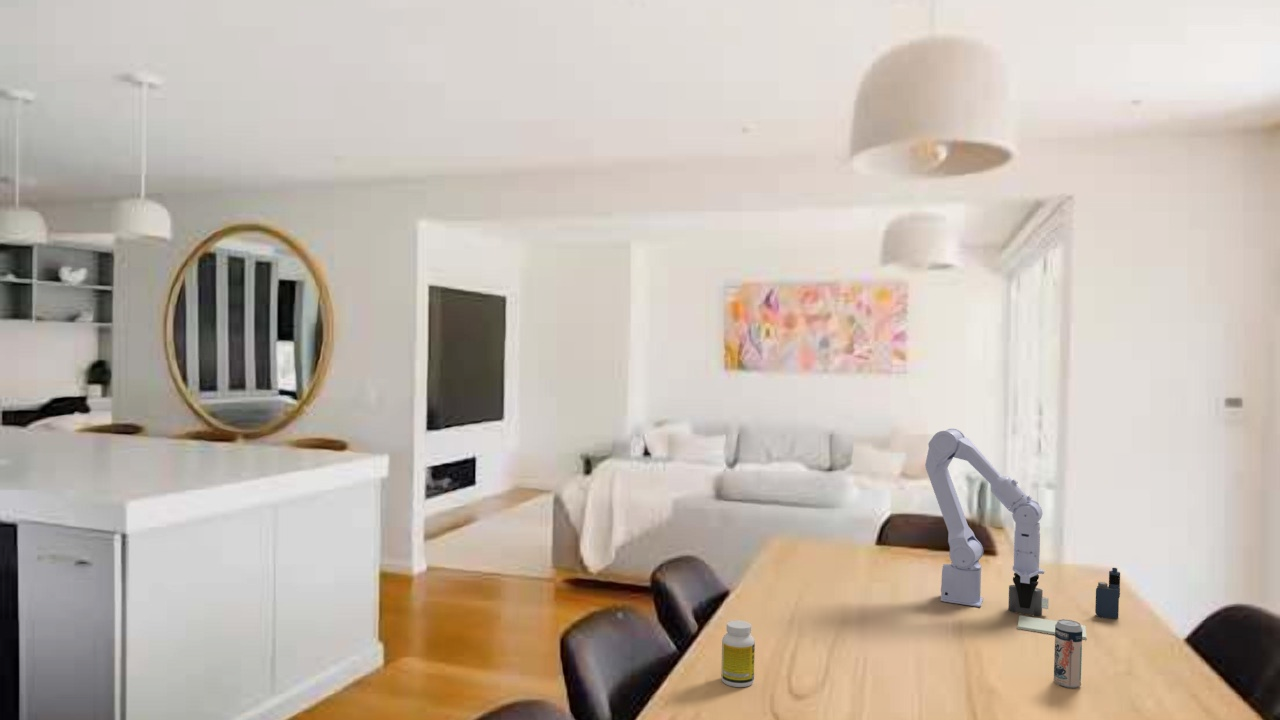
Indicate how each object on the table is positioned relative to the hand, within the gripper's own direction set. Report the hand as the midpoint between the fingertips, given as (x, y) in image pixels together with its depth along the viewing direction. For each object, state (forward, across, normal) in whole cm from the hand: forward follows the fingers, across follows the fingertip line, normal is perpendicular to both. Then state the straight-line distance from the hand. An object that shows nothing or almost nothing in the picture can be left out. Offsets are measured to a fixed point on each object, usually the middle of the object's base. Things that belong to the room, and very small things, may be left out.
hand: (1025, 605), depth 204 cm
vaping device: (+2, +7, -18) cm, 19 cm away
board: (+2, -10, -6) cm, 12 cm away
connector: (+2, 0, 0) cm, 2 cm away
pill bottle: (+2, -76, +47) cm, 89 cm away
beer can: (+2, -45, -9) cm, 46 cm away
